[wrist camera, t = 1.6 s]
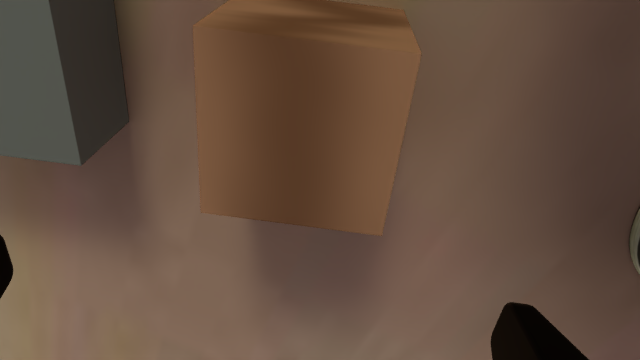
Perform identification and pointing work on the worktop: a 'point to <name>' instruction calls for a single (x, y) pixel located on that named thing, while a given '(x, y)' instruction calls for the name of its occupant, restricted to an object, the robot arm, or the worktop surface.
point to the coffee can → (635, 242)
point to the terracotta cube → (302, 110)
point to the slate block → (59, 79)
